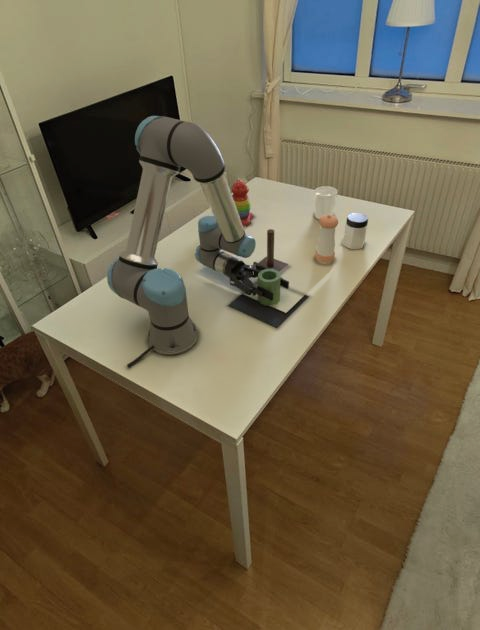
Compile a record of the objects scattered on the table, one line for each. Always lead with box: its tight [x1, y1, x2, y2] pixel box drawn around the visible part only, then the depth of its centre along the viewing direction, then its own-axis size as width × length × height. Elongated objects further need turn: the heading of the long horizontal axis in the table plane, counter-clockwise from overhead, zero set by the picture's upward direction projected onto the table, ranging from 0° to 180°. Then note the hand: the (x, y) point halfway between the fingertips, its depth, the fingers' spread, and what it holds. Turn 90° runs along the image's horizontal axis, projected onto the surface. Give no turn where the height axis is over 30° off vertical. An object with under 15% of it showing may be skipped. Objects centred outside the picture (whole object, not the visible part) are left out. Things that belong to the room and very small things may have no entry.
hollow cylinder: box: [257, 269, 282, 307], centre depth 146 cm, size 7×7×10 cm
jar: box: [342, 212, 369, 250], centre depth 173 cm, size 9×8×12 cm
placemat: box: [228, 293, 309, 329], centre depth 150 cm, size 20×20×1 cm
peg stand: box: [257, 228, 289, 273], centre depth 160 cm, size 10×10×16 cm
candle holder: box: [314, 185, 338, 220], centre depth 193 cm, size 10×10×12 cm
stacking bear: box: [231, 179, 254, 227], centre depth 190 cm, size 11×10×18 cm
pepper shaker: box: [314, 214, 339, 263], centre depth 163 cm, size 7×7×19 cm
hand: (280, 291), depth 143 cm, fingers closed on hollow cylinder, 7 cm apart
